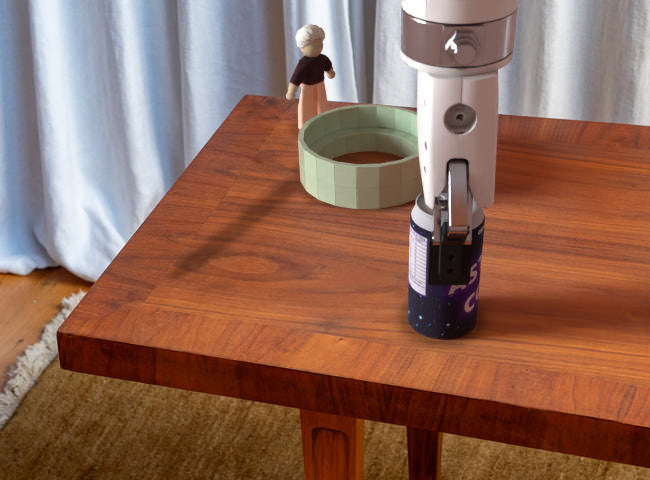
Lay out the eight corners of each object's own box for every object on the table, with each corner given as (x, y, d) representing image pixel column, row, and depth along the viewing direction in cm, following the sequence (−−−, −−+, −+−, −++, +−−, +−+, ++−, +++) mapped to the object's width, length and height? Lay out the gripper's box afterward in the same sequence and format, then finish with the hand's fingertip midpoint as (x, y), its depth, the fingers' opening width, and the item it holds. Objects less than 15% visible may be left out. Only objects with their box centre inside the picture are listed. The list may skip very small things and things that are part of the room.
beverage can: (448, 357, 71) (456, 230, 63) (393, 328, 74) (395, 204, 66) (489, 323, 74) (501, 198, 67) (434, 297, 77) (440, 175, 70)
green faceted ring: (430, 148, 99) (432, 102, 96) (439, 214, 88) (442, 165, 84) (304, 151, 100) (302, 105, 96) (297, 217, 89) (294, 168, 85)
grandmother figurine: (313, 148, 100) (307, 38, 92) (284, 141, 102) (276, 33, 94) (346, 121, 105) (343, 15, 97) (318, 115, 107) (313, 10, 99)
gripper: (534, 84, 52) (506, 326, 63) (498, -11, 65) (481, 203, 76) (405, 87, 52) (401, 327, 63) (396, -8, 66) (394, 204, 77)
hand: (445, 257), depth 70 cm, fingers closed on beverage can, 5 cm apart
